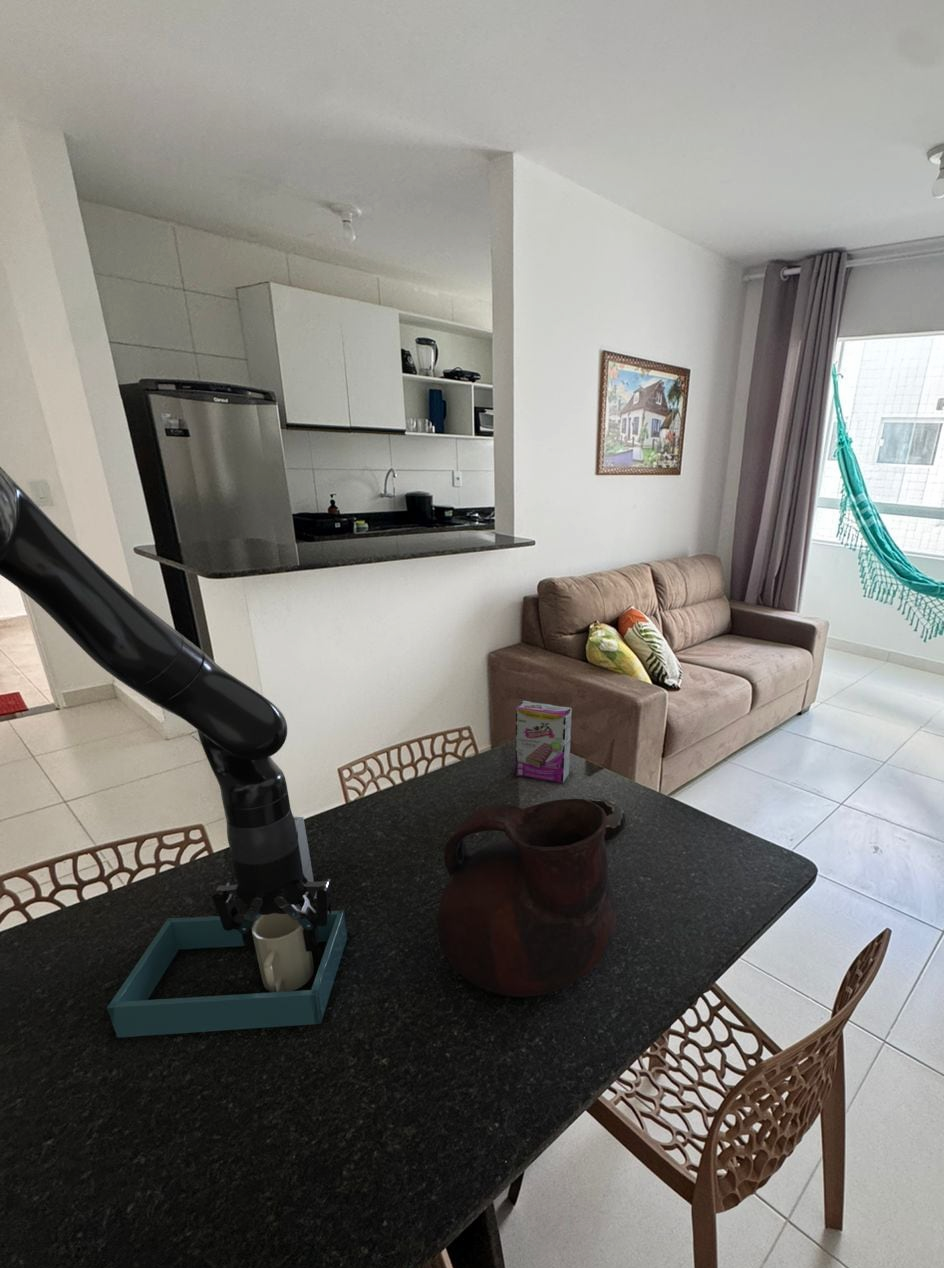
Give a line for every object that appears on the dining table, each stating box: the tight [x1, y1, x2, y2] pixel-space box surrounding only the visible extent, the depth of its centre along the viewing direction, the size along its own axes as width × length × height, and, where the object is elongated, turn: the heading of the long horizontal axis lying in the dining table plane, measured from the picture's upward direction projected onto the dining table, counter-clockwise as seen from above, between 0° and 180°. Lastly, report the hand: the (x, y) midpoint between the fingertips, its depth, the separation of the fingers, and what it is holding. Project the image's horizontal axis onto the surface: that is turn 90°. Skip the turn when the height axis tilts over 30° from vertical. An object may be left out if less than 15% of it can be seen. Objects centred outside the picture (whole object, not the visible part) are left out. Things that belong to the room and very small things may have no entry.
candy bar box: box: [515, 700, 573, 784], centre depth 142 cm, size 11×5×16 cm, turn 77°
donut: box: [583, 797, 627, 841], centre depth 127 cm, size 12×12×4 cm
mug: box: [252, 913, 315, 993], centre depth 87 cm, size 9×6×9 cm
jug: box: [436, 798, 618, 998], centre depth 91 cm, size 25×25×25 cm
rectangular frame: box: [106, 909, 348, 1039], centre depth 88 cm, size 24×16×5 cm, turn 97°
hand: (284, 948), depth 89 cm, fingers closed on mug, 6 cm apart
